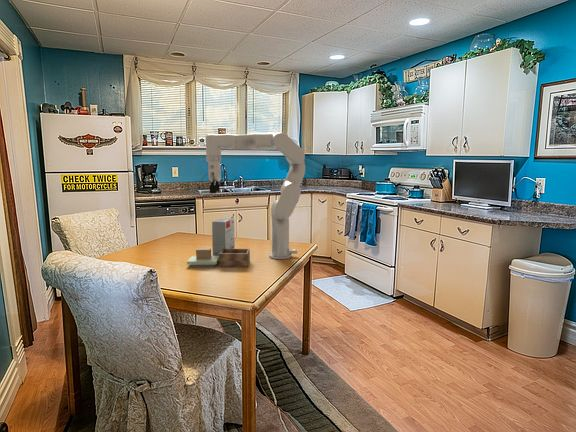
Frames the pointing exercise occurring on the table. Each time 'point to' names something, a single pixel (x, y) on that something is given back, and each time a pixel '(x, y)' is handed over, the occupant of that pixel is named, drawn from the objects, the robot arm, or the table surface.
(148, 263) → the table surface
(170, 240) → the table surface
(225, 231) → the hard drive box
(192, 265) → the mat
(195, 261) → the lid
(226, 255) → the crate
